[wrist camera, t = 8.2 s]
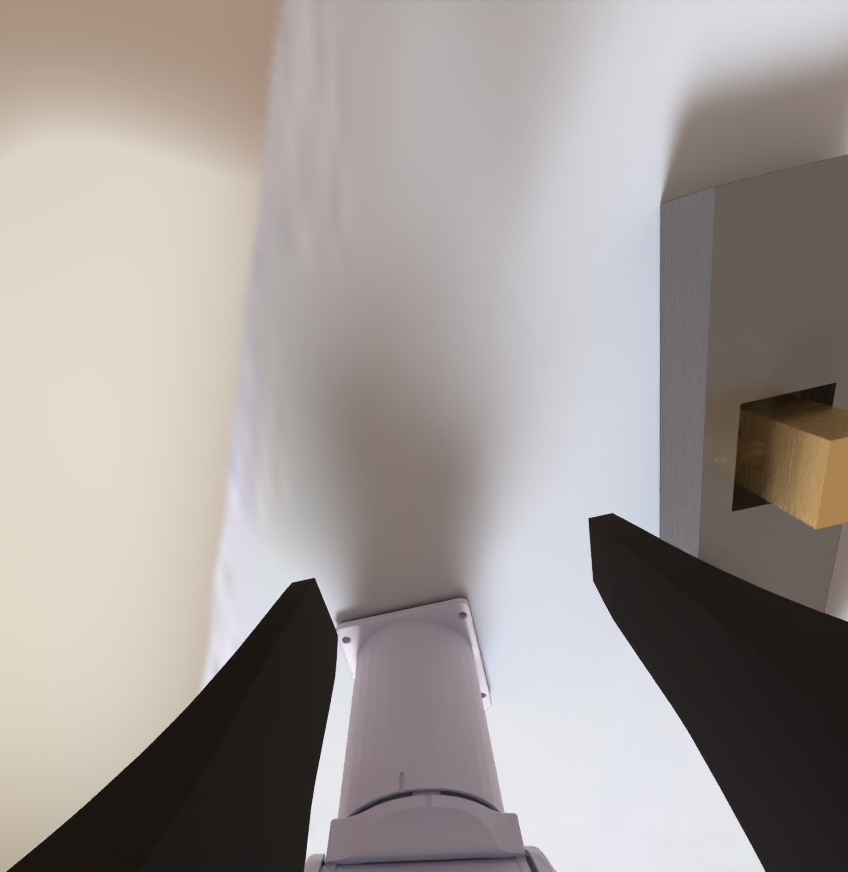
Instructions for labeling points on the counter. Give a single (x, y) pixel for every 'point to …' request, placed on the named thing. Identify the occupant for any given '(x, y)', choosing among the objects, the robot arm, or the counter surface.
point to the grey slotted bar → (750, 361)
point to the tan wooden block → (795, 457)
